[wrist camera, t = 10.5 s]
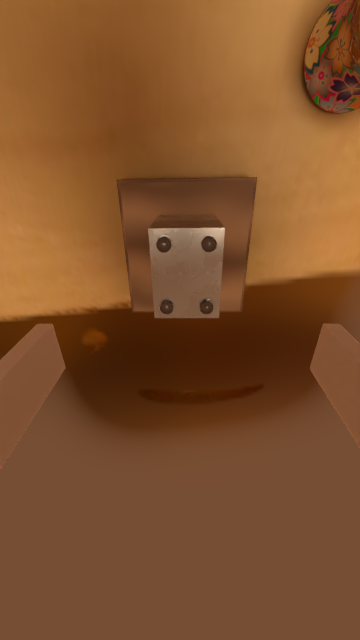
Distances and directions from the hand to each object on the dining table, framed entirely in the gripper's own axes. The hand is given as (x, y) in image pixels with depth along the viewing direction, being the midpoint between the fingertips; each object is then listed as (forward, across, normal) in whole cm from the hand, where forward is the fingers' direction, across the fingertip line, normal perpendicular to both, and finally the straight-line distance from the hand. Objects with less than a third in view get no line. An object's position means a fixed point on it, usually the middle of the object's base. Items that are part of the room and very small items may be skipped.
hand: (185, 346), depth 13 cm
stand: (+23, 0, 0) cm, 23 cm away
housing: (+18, 0, 0) cm, 18 cm away
